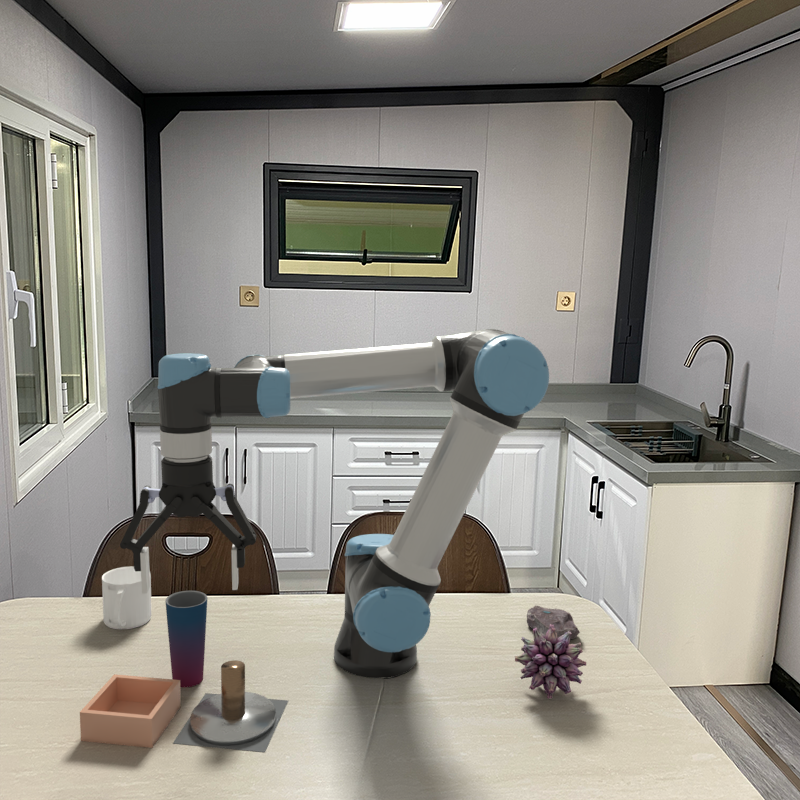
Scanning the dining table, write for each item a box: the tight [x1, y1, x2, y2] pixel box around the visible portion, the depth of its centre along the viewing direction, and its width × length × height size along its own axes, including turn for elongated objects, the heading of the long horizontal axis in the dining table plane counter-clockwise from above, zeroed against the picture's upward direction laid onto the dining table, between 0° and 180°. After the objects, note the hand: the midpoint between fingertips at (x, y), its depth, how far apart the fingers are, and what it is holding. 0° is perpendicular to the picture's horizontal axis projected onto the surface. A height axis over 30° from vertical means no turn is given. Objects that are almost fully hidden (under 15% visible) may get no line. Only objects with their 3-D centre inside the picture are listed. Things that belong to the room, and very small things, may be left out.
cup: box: [164, 590, 208, 688], centre depth 134 cm, size 7×7×15 cm
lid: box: [189, 659, 276, 746], centre depth 123 cm, size 13×13×9 cm
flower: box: [514, 624, 587, 700], centre depth 134 cm, size 12×12×12 cm
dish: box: [79, 674, 182, 749], centre depth 122 cm, size 11×11×5 cm
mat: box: [172, 692, 289, 753], centre depth 124 cm, size 14×14×1 cm
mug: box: [101, 565, 153, 630], centre depth 156 cm, size 12×9×9 cm
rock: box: [526, 605, 581, 640], centre depth 158 cm, size 8×11×5 cm
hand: (191, 588), depth 124 cm, fingers open, 13 cm apart
